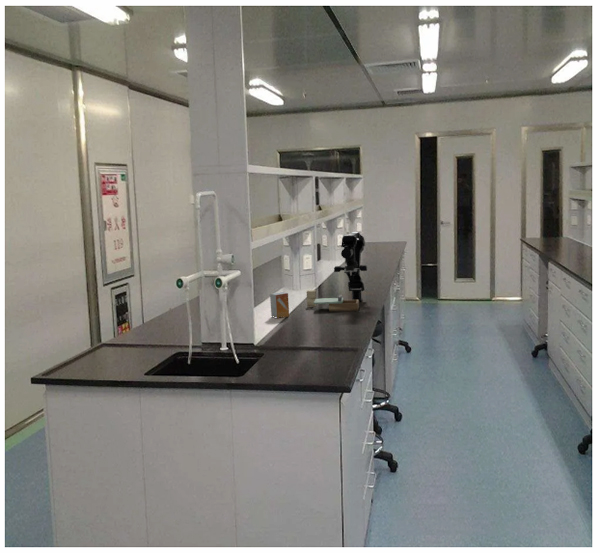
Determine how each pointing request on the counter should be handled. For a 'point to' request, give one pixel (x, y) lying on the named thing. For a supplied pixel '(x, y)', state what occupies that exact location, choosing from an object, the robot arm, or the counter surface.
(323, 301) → the lid
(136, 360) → the counter surface
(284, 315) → the small box
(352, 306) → the open wooden tray
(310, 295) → the brown wooden block
